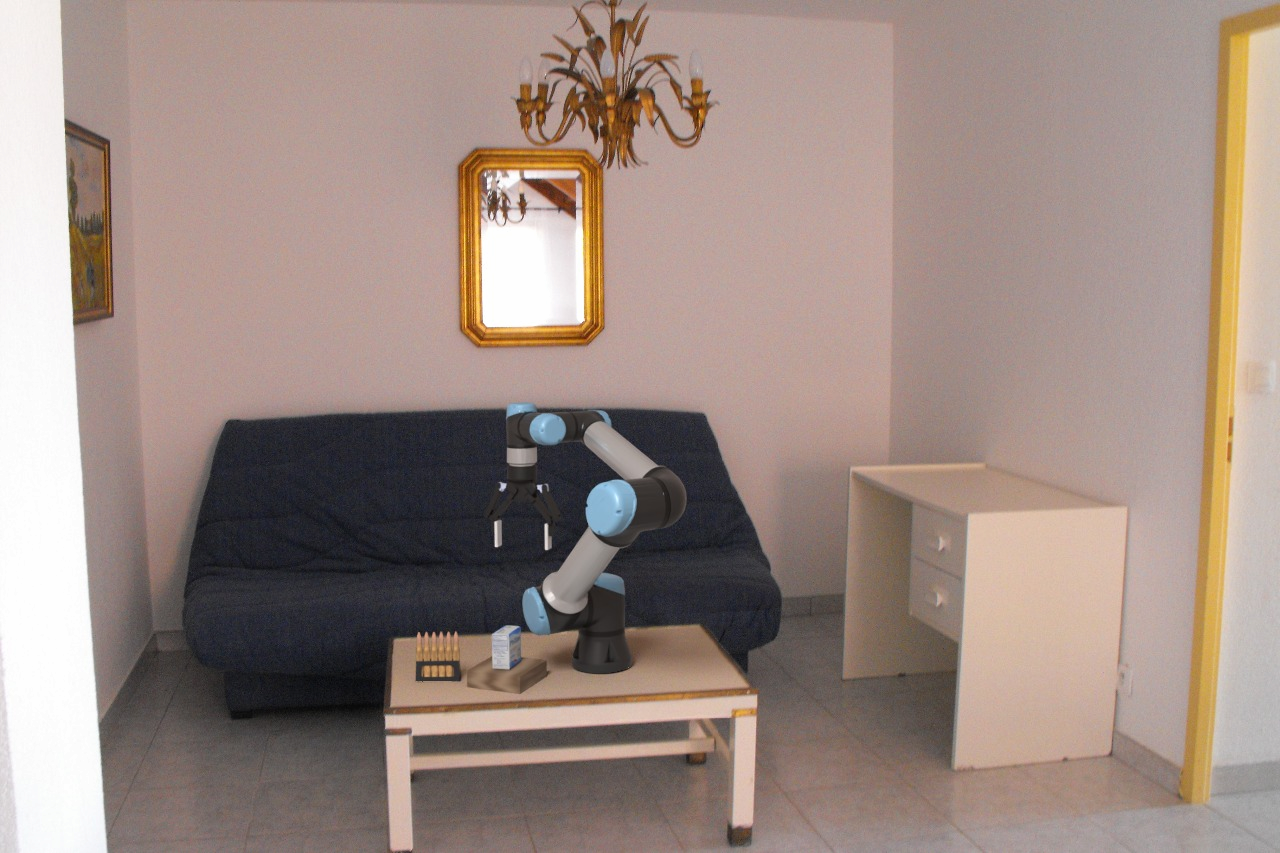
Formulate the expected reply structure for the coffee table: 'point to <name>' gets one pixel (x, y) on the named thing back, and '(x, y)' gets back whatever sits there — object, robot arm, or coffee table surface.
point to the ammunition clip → (438, 659)
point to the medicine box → (506, 647)
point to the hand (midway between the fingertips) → (523, 547)
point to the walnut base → (507, 675)
